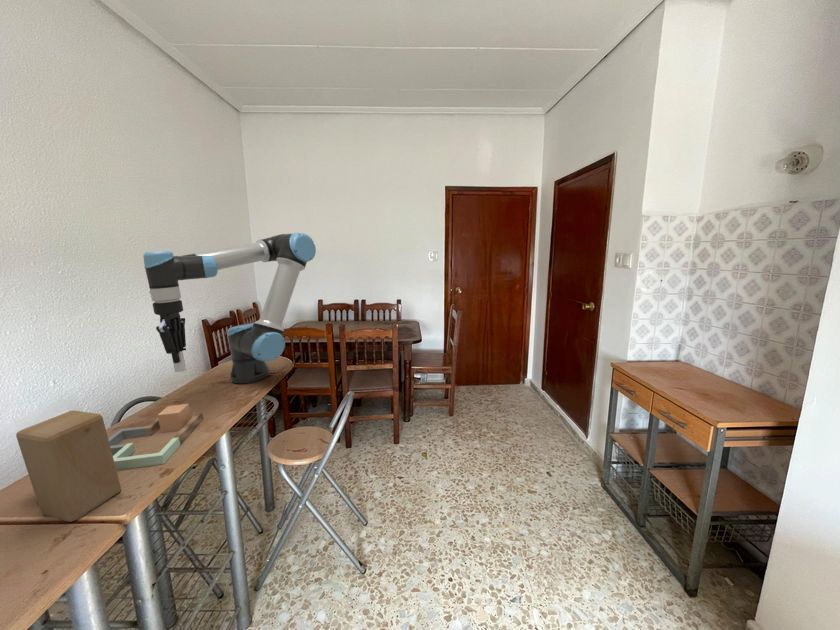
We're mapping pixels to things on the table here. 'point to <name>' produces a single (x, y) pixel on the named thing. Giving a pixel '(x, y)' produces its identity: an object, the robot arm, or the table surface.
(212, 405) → the table surface
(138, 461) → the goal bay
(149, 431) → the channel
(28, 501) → the table surface
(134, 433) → the trap bay
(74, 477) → the wooden block
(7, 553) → the table surface
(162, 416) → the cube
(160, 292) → the robot arm
